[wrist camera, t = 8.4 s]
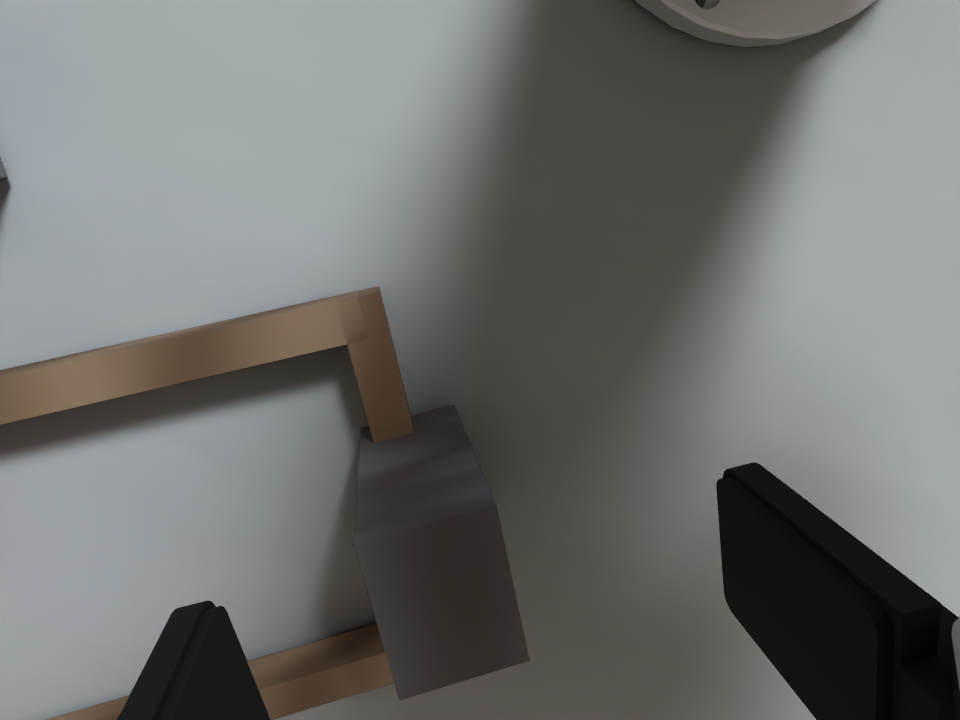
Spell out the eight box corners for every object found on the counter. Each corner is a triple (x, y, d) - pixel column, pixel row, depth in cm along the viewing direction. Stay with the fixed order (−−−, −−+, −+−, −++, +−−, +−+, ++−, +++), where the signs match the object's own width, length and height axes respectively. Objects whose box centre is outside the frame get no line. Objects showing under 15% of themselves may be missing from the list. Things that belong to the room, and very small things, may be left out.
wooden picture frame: (424, 276, 18) (454, 310, 11) (501, 617, 21) (559, 799, 14) (-439, 467, 15) (-1065, 659, 8) (-196, 823, 18) (-513, 1160, 12)
